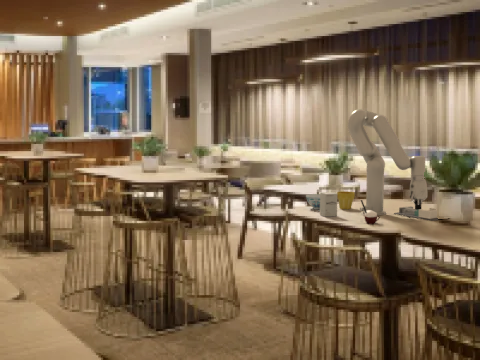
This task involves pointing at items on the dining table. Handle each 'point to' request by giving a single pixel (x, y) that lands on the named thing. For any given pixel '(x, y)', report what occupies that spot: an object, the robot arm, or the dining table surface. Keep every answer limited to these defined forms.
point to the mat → (417, 217)
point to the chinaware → (314, 200)
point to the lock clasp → (428, 213)
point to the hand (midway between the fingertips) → (418, 211)
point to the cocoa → (370, 215)
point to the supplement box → (328, 204)
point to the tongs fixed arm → (408, 211)
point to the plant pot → (345, 199)
